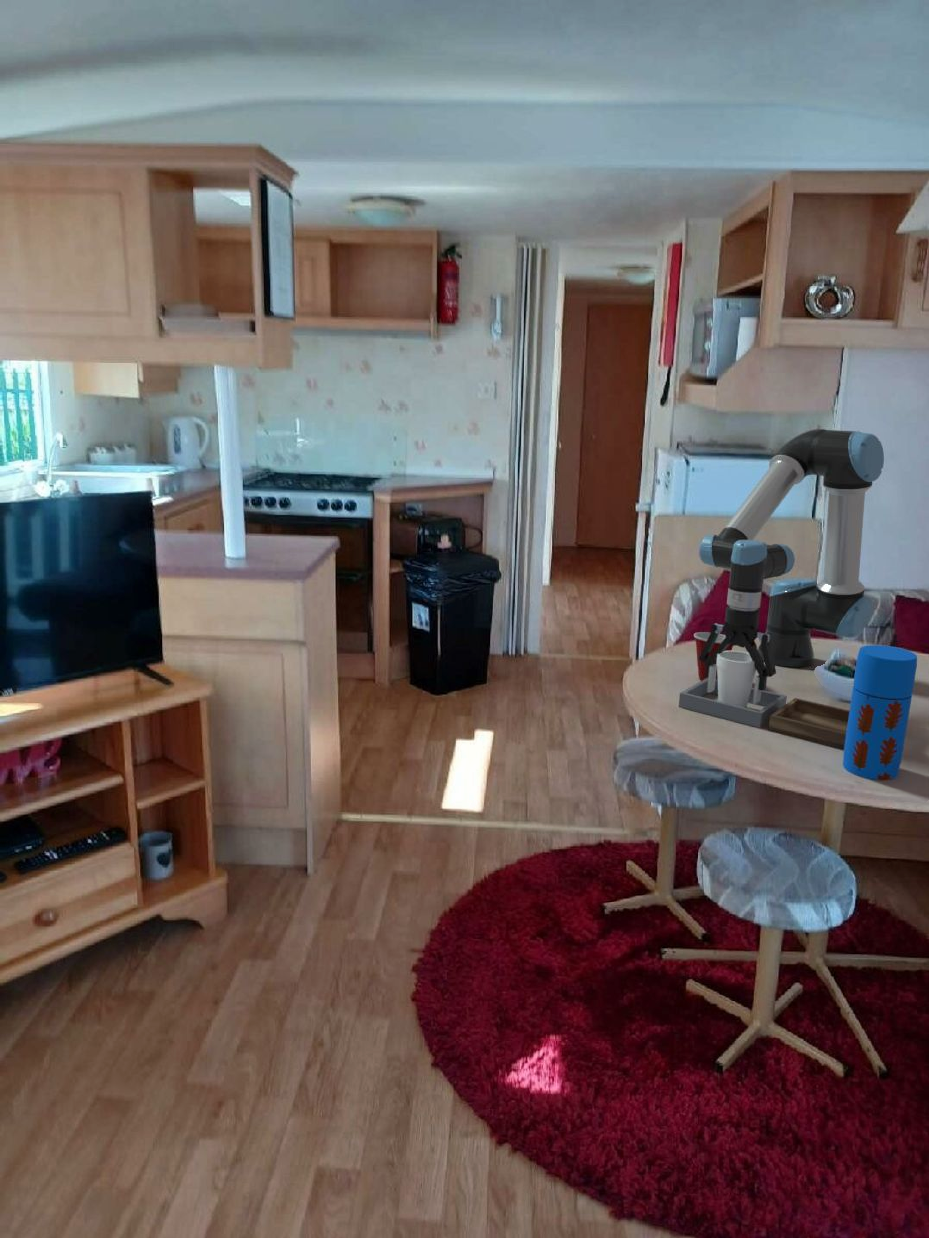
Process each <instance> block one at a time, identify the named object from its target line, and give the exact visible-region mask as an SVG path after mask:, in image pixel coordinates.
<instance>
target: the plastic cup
mask: <svg viewBox="0 0 929 1238" xmlns="http://www.w3.org/2000/svg"><path fill="white" fill-rule="evenodd" d="M709 635H710V632H707V631H706V632H705V631H704V632H702V631H700V632H695V633H693V637H694V641H695V647H696V648H695V649H696V664H697V672H698V679H699V680H700V682H701V681H703V680H704V679H706V677H705V671H706V664H705V663H704V662H702V661H699V657H700V655H701V652H702V650H703V648H704V646H705V644H706V642H707V640H708V637H709ZM725 638H726V636H725V634H721V633H719V635H718V637H717V639H716V641H715V643H714V645H713V647H712V650H711V652H710V654H709V656H708V657H710V656H711V655H712V654H713V653H714V651H715V650H716V649H717V648H718V647H719V646H720V644H721V643H722V641H723V640H724V639H725ZM733 648H734V646H733V645H731V644H730V645H729V646H728V647H727V648H726V649H725V650H724V651H733V650H732V649H733ZM716 661H717V660H716ZM716 661H715V662H714V663H713V664H716ZM716 679H717V680H718V674H717V671H716Z"/></svg>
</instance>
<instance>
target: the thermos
mask: <svg viewBox="0 0 929 1238" xmlns="http://www.w3.org/2000/svg"><path fill="white" fill-rule="evenodd" d="M917 667H918V656H917V654H916V653H914V652H913V651H910V650H907V649H904V648H900V647H896V646H890V645H882V644H881V645H880V644H878V645H877V644H872V645H871V644H870V645H869V644H868V645H864V646H861V647H860V648H859V650H858V653H857V657H856V663H855V672H854V678H853V684H852V685H853V686H852V691H851V692H852V693H851V698H850V699H851V700H850V704H849V705H850V707H849V718H848V725H847V732H846V739H845V745H844V750H843V759H842V766H843V768H844V770H846V771H847V772H849V773H851V774H853V775H855V776H858V777H861V778H864V779H869V780H875V781H888V780H893V779H896V778H897V776H898V775H899V772H900V766H901V763H902V758H903V753H904V746H905V740H906V735H907V728H908V723H909V717H910V709H911V705H912V697H913V691H914V685H915V680H916V673H917Z"/></svg>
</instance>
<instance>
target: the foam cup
mask: <svg viewBox="0 0 929 1238" xmlns="http://www.w3.org/2000/svg"><path fill="white" fill-rule="evenodd" d="M716 664H717V674H718V695H717V701H720V702H724V703H728V704H732V705H736V706H740V707H744V708H747V706H748V703H749V702H748V700H749V696H750V692H751V688H753V684H754V680H755V678H756V672H757V670H756V667H755V665H754V661H752V659H751V657H750V655H749V652H747V651H741V650H740V651H739V650H731V651H723V652H722V653H720V654H717V661H716Z"/></svg>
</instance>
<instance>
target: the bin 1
mask: <svg viewBox="0 0 929 1238" xmlns="http://www.w3.org/2000/svg"><path fill="white" fill-rule="evenodd" d="M707 686H708V678H706V679H704V680H703V681H701V680H700V681H698V682H697V683H696V684H693V685H692V686H690V687H688V688H686V689H685V690H683V691H681V692H679V697H678V698H679V701H678V707H679V708H682V709H686V710H688V711H693V712H697V713H700V714H701V713H702V714H705V715H709V716H713V717H716V718H721V719H724V720H728V721H732V722H735V723H739V724H744V725H747V726H751V727H754V728H759V729H761V728H762V727H763V726H764V725H766V724H767V723H769V721H770V715H772V714H773V713H775V712H776V711H777V710H779V709H780V708H782V707H783V706H784V705H786V704H787V698H788V696H787V695H785V694H780V693H776V692H771V691H768V690H765V689H764V690H763V691H762V690H761V699H760V702H758V703H757V704H756V705H758V706H762V707H763V708H762V709H760V710H755V709H752V708H747V707H746V708H744V707H740V706H736V705H732V704H728V703H724V702H720V701H718V700H715V699H711V698H707V697H704V696H706V695H707V694H714V695H717V696H718V680H717V679H716V680H715V689H714V691H712V692H710V693H708V692H707ZM754 688H755V687H752V688H751V692H750V696H749V700H748V703H750V704H753V697H754Z"/></svg>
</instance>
